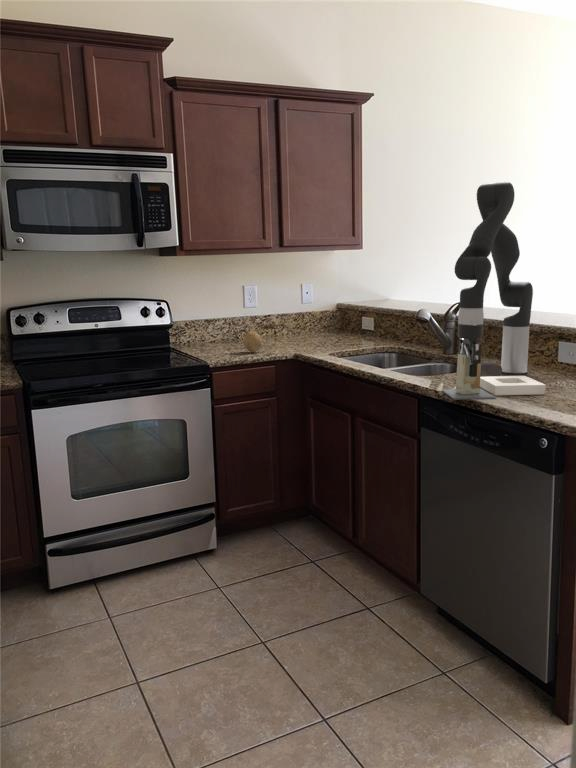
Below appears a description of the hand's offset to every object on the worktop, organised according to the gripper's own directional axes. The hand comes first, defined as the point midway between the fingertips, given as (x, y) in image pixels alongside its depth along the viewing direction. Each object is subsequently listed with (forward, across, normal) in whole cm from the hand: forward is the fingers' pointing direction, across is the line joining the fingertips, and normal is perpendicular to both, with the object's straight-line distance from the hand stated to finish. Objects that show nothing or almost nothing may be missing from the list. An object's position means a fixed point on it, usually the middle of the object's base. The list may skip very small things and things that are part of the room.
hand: (468, 374), depth 204 cm
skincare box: (+6, 0, 0) cm, 6 cm away
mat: (+7, 0, 0) cm, 7 cm away
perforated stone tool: (+7, -22, +13) cm, 27 cm away
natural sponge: (+7, -102, -68) cm, 123 cm away
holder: (+7, -6, +16) cm, 18 cm away
